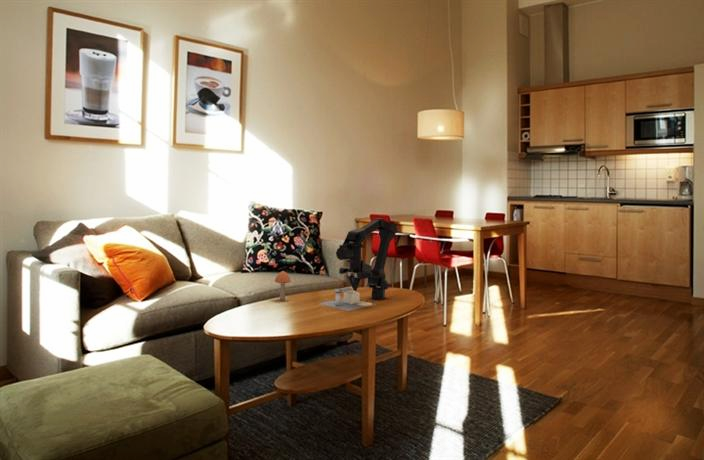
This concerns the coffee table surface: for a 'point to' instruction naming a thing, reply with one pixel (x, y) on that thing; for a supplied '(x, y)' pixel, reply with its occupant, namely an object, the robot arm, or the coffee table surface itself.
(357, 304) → the board
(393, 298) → the coffee table surface
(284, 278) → the mushroom
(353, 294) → the beige cube
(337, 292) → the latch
